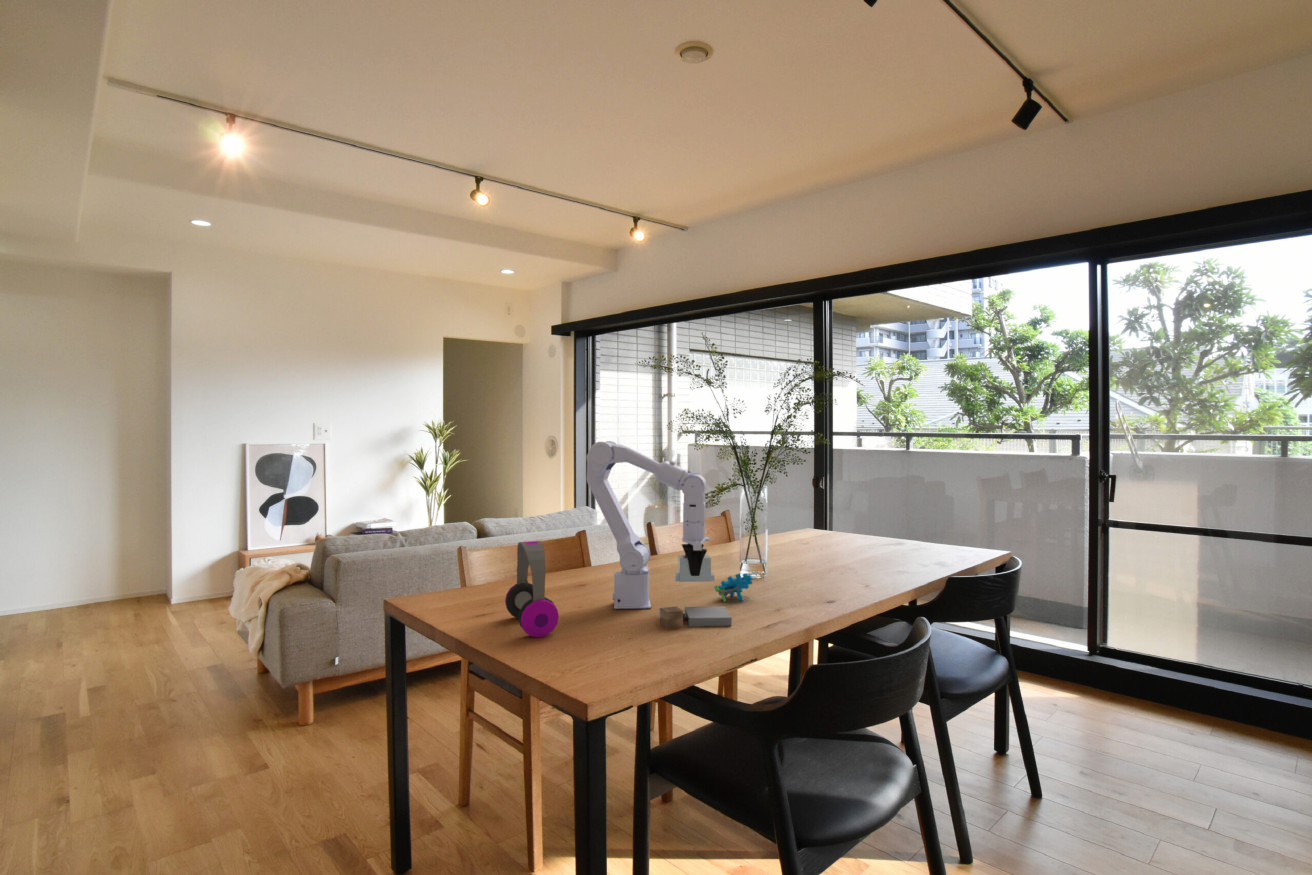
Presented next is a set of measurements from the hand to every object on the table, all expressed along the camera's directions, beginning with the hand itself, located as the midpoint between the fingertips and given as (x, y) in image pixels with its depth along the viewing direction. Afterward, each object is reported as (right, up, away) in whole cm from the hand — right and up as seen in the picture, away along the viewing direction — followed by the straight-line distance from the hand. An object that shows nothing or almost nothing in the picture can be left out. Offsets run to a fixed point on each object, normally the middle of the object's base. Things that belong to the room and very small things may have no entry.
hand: (693, 573), depth 175 cm
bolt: (-5, -9, -10) cm, 15 cm away
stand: (+3, -9, -11) cm, 14 cm away
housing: (0, -2, 0) cm, 2 cm away
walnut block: (-6, -9, -15) cm, 19 cm away
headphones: (-39, -9, -16) cm, 43 cm away
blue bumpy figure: (+11, -9, +10) cm, 18 cm away
